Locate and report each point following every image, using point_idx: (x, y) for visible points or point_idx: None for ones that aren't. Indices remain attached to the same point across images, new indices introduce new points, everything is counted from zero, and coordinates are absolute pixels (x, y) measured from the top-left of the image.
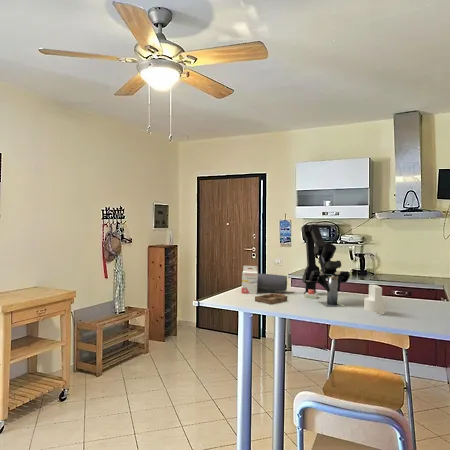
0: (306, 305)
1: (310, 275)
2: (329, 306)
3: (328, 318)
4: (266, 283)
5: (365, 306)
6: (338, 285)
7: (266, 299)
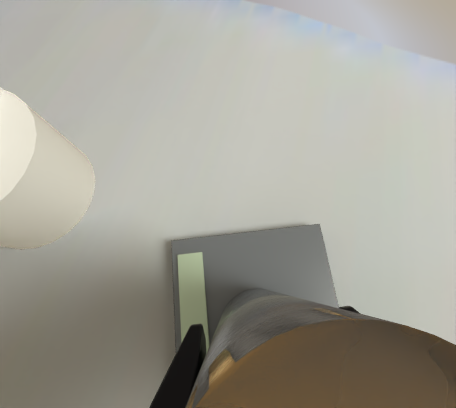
0: None
1: None
2: (295, 242)
3: (329, 47)
4: None
5: (72, 165)
6: (183, 399)
7: None
